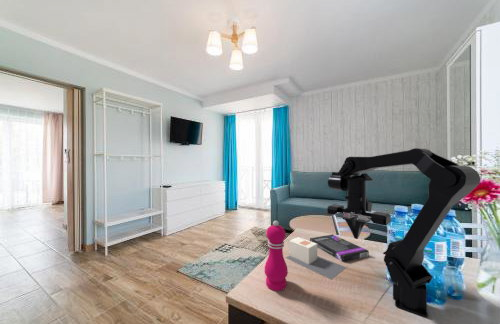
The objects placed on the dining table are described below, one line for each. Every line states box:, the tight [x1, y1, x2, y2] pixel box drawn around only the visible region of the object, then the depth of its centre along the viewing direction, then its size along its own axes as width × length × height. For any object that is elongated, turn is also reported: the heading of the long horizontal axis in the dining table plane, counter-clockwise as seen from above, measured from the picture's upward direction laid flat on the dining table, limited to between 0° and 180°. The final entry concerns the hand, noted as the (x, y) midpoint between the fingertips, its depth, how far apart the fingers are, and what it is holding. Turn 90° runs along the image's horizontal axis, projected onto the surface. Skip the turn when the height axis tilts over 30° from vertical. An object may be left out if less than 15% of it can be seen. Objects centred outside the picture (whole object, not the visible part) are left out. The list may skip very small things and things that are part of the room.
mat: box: [285, 255, 347, 280], centre depth 74 cm, size 19×11×1 cm, turn 40°
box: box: [309, 234, 370, 263], centre depth 85 cm, size 14×4×20 cm
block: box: [288, 236, 318, 264], centre depth 78 cm, size 6×6×9 cm
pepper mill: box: [264, 220, 289, 292], centre depth 61 cm, size 7×7×20 cm
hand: (356, 238), depth 67 cm, fingers closed
